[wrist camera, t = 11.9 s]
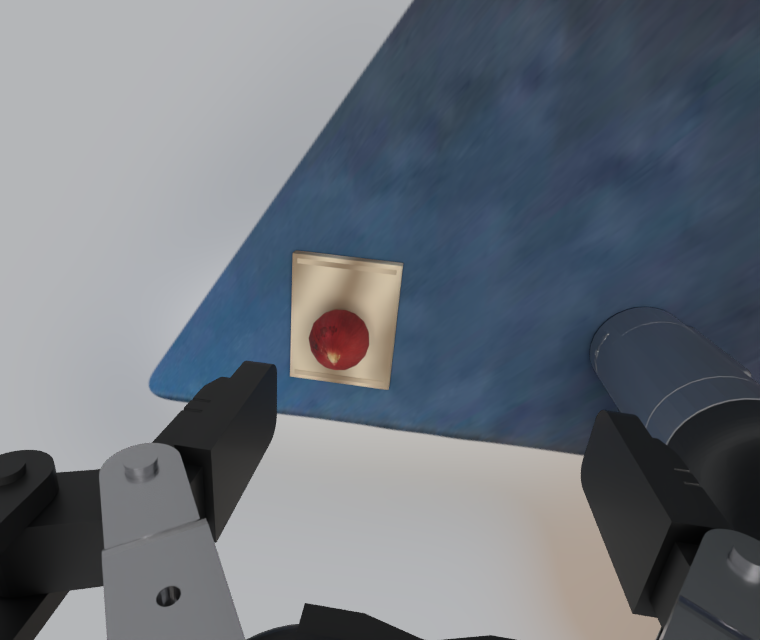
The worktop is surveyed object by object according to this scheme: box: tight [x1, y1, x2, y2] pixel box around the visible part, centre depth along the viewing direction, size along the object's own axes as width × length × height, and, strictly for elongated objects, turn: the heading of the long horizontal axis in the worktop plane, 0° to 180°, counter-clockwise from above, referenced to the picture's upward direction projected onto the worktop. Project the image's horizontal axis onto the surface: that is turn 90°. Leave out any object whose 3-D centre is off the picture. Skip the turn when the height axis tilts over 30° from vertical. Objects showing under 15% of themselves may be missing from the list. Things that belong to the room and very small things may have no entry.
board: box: [290, 250, 403, 390], centre depth 50 cm, size 11×14×1 cm
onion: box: [309, 309, 369, 370], centre depth 46 cm, size 6×6×8 cm
